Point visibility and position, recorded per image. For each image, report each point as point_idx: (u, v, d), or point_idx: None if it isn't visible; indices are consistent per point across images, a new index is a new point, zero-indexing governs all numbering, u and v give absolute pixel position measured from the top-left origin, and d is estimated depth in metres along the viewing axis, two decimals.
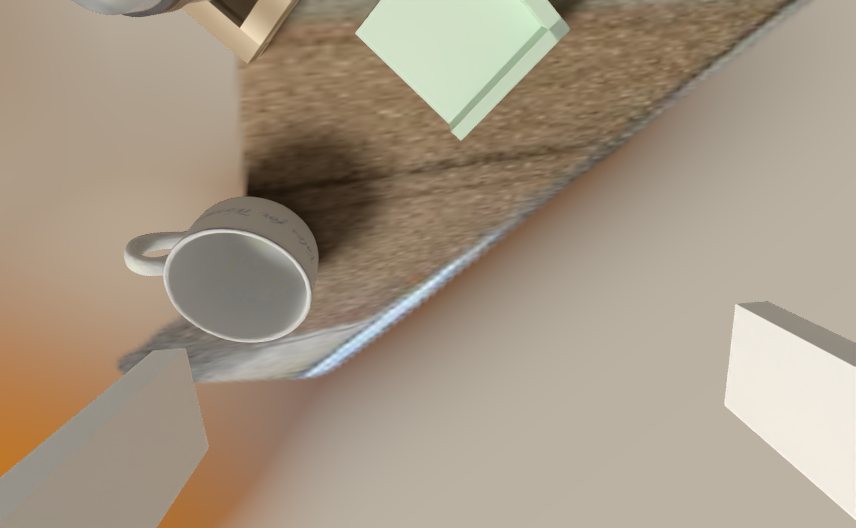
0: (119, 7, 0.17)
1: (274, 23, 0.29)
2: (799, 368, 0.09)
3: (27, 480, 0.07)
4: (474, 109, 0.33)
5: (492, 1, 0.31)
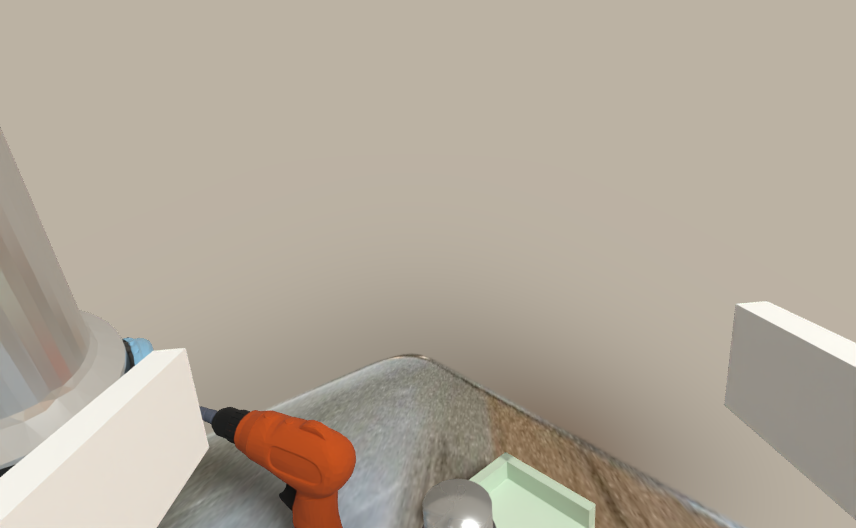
0: (487, 498, 0.24)
1: None
2: (799, 369, 0.09)
3: (27, 480, 0.07)
4: (566, 496, 0.42)
5: (494, 504, 0.44)
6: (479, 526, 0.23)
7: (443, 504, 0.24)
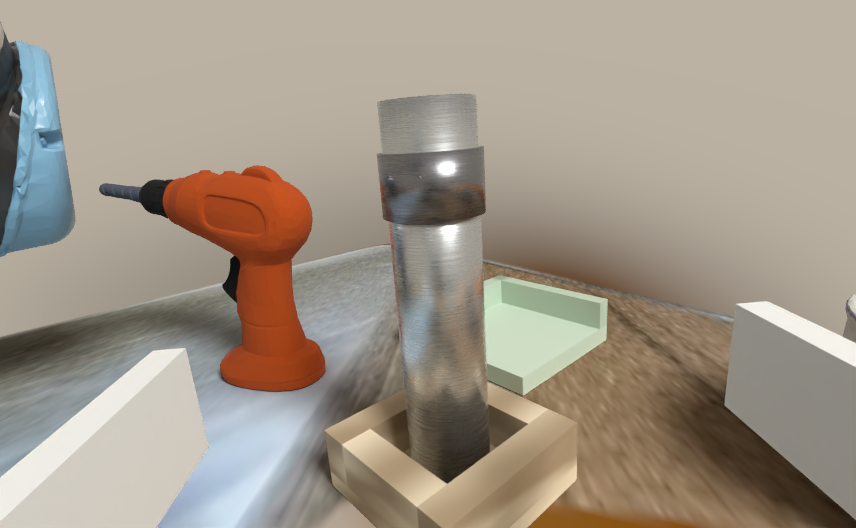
0: None
1: (517, 396, 0.23)
2: (799, 368, 0.09)
3: (27, 480, 0.07)
4: (572, 296, 0.34)
5: (485, 318, 0.37)
6: (456, 95, 0.15)
7: None
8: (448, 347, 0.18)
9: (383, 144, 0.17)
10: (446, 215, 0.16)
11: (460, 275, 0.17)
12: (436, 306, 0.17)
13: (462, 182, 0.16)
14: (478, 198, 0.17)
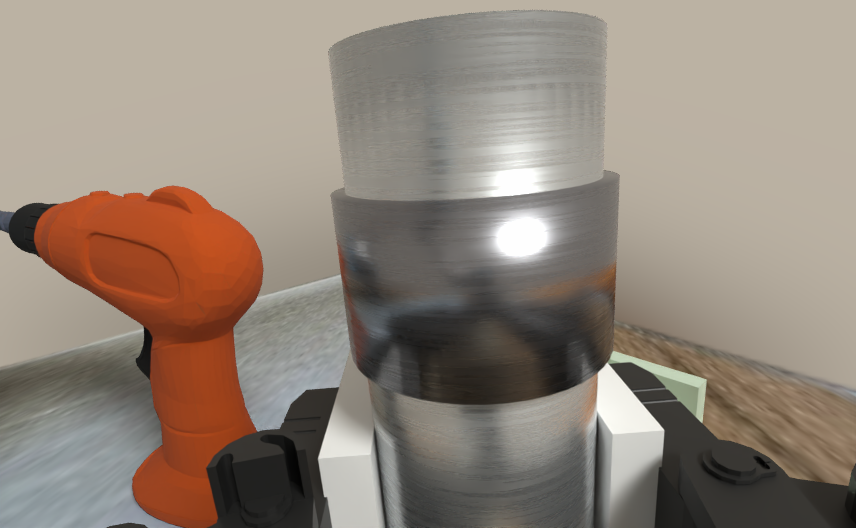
0: None
1: None
2: None
3: None
4: (651, 371, 0.24)
5: None
6: (571, 16, 0.05)
7: None
8: None
9: (345, 169, 0.06)
10: (528, 382, 0.05)
11: (556, 519, 0.06)
12: None
13: (577, 284, 0.05)
14: (607, 317, 0.06)
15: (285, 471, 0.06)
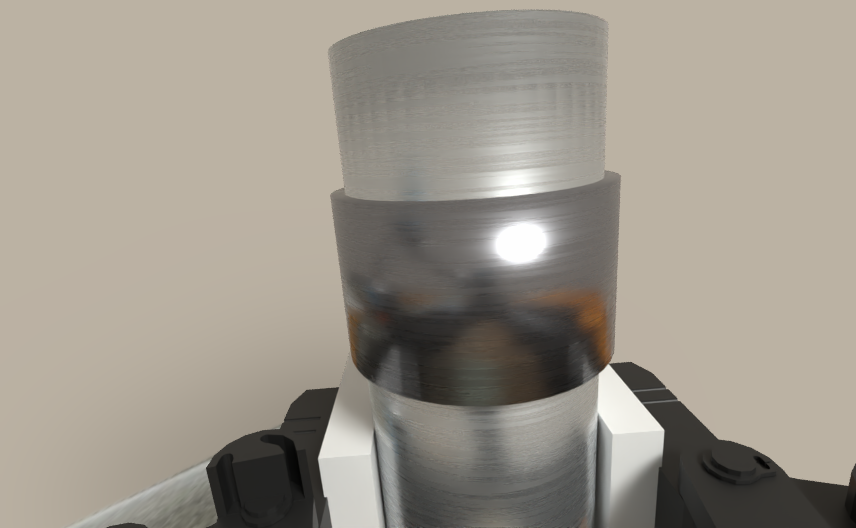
0: None
1: None
2: None
3: None
4: None
5: None
6: (572, 16, 0.05)
7: None
8: None
9: (345, 170, 0.06)
10: (529, 384, 0.05)
11: (556, 520, 0.06)
12: None
13: (578, 285, 0.05)
14: (609, 318, 0.06)
15: (285, 471, 0.06)
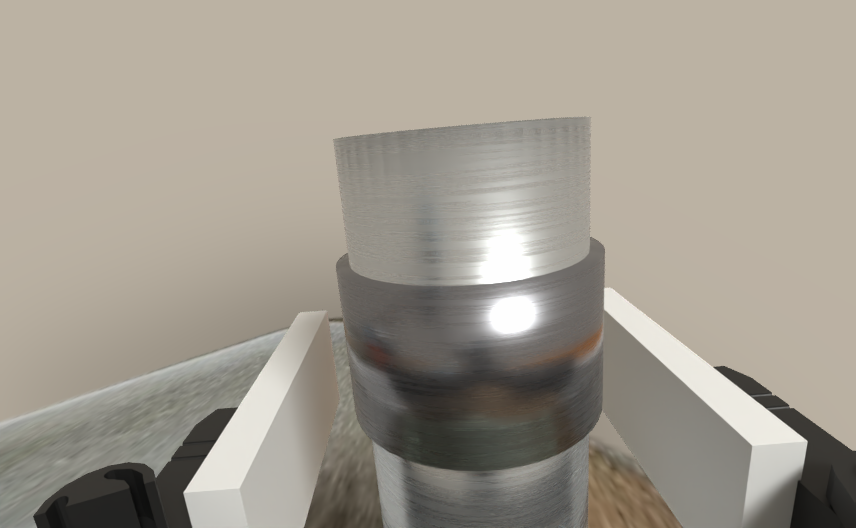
0: None
1: None
2: (612, 342, 0.11)
3: (270, 397, 0.08)
4: None
5: None
6: (555, 121, 0.05)
7: None
8: None
9: (349, 246, 0.06)
10: (521, 450, 0.06)
11: None
12: None
13: (564, 359, 0.06)
14: (595, 381, 0.07)
15: (132, 507, 0.06)
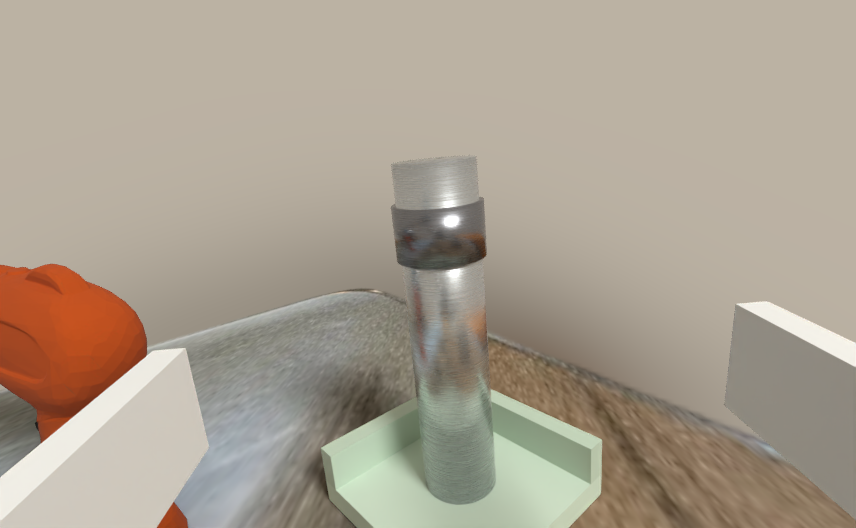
0: (470, 156, 0.20)
1: None
2: (799, 369, 0.09)
3: (27, 480, 0.07)
4: (552, 429, 0.24)
5: None
6: (459, 160, 0.18)
7: (416, 161, 0.20)
8: (456, 374, 0.20)
9: (397, 200, 0.19)
10: (452, 261, 0.19)
11: (465, 311, 0.20)
12: (445, 338, 0.20)
13: (465, 232, 0.19)
14: (479, 245, 0.19)
15: None
